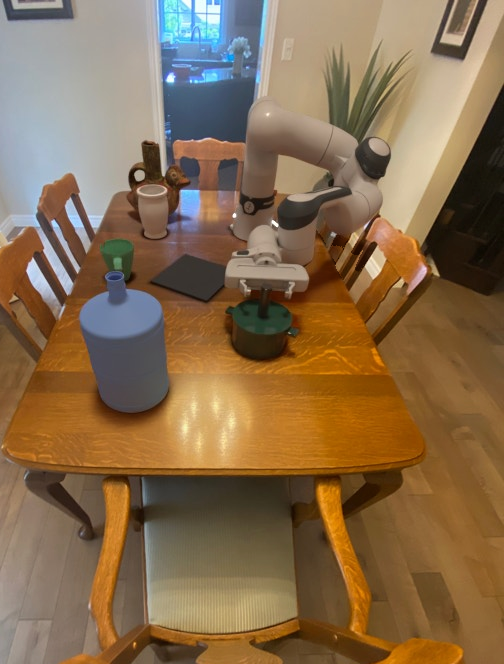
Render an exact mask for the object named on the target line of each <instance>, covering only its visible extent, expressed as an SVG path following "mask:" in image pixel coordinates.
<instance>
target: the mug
mask: <svg viewBox="0 0 504 664" xmlns="http://www.w3.org/2000/svg"><path fill="white" fill-rule="evenodd" d="M99 251H100V254H101V257H102V259H103V261H104V264H105V266H106V268H107V270H108V272H113V271H118V272H122V273H123V274H124V282H126V281H128V280H129V279H130V277H131V274H132V269H133V263H134V256H135V255H134V253H135V245H134V243H133V242H132V241H130V240H128V239H126V238H125V239H124V238H112V239H108V240H104V242H103V244H102V243H101V244H100V245H99Z"/></svg>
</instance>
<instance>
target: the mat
mask: <svg viewBox="0 0 504 664" xmlns="http://www.w3.org/2000/svg"><path fill="white" fill-rule="evenodd" d="M226 267H227V265H222V264H219V263H215V262H213V261H209V260H207V259H202V258H199V257H197V256H194V255H190V254H187V253H185V254H183V255H182V256H181V257H180V258H178V259H176V260H175V261H174V262H173V263H172V264H170V265H169V266H168V267H167V268H165V269H164V270H162V271H161V272H160V273H159V274H157V275H156V276H155V277H153V278H152V279H151V280H150V283H151V284H153V285H156V286H159V287H161V288H164V289H166V290H170V291H173V292H175V293H178V294H181V295H184V296H186V297H190V298H192V299H195V300H197V301H200V302H204V303H208V302H209V301H210V300H211V299H212V298H213V297H215V295H217V294H218V292H220V290H222V289H223V288H224V287H225V272H226Z"/></svg>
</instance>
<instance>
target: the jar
mask: <svg viewBox="0 0 504 664" xmlns="http://www.w3.org/2000/svg"><path fill="white" fill-rule="evenodd" d="M137 194H138V196H139V199H138V208H139V212H138V214H139V218H140V222H141V225H142V228H143V229H144V232H143V235H144V236H145V237H146V238H148V239H151V240H153V239H154V240H158V239H162V238H165V237H167V234H168V232H167V226H168V220H169V217H168V201H167V197H166V195H167V188H165V187H164V186H160V185H145V186H141V187H139V188H138V189H137Z"/></svg>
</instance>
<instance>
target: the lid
mask: <svg viewBox="0 0 504 664" xmlns="http://www.w3.org/2000/svg"><path fill="white" fill-rule="evenodd" d="M272 289H273V286H272V285H271V284H269V283H264V284H262V286H261V290H260V292H259V298H250V299H246V300H243V301H240V302H239V303H237V304H236V305H235V306H234V307H235V308H234V310H233V313H232V316H231V318H232V321H233V322H234V323H235V324H236V325H237V326H238V327H239V328H240V329H241V330H243V331H245V332H247V333H250V334H253V335H257V336H274V335H278V334H281V333H283V332H285V331H286V330H288V329H289V327H292V324H293V315H292V312H291V311H290V309H289V308H287V306H285V305H284V304H282V303H280V302H278V301H276V300H272V294H273V291H272Z"/></svg>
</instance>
